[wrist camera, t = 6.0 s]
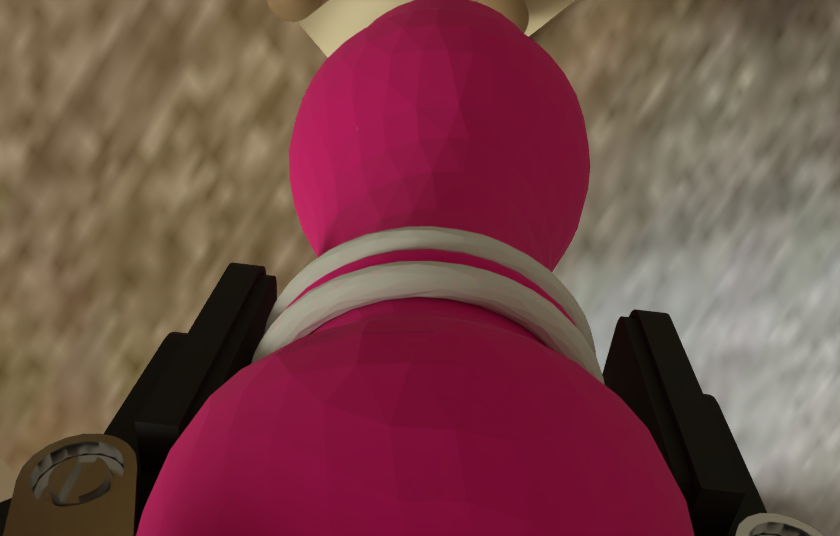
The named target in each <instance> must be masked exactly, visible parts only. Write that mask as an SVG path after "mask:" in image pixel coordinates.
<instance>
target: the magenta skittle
mask: <svg viewBox="0 0 840 536" xmlns="http://www.w3.org/2000/svg"><path fill="white" fill-rule="evenodd" d="M289 169H290V183H291V188H292V193H293V199H294V204H295V209H296V212H297V215H298V217H299V220H300V223H301V226H302V229H303V231H304V233H305V235H306V237H307V239H308V241H309V243H310V245H311V246H312V248H313V250H314V251H315V253H316V255H317V256H318V258H317V259H315V260H314V261H312V262H311V263H309V264H308V265H307V266H306V267H305V268H304V269H303V270H302V271H301V272H300V273H299V274H298V275H297V276H296V277H295V278H294V279H293V280H292V281H290V283H289V284H288V285H287V287H286V288H285V289H284V291H283V292H282V294H281V295H280V296H279V298H278V299H277V301H276V302H275V304H274V306H273V309H272V311H271V313H270V315H269V318H268V320H267V323H266V327H265V331H264V335H263V338H262V340H261V341H260V343H259V345H258V347H257V349H256V351H255V353H254V356H253V359H252V363H251V364H250V365H248V366H246V367H245V368H243V369H241V370H240V371H239V372H237V373H236V374H235V375H234V376H233V377H232V378H230V379H229V380H228V381H227V382H226V383H225V384H223V385H222V386H221V387H220V388H219V389H217V390H216V391H215V392H214V393H213V394H212V395H210V397H209V398H208V399H207V401H206V402H205V403H204V405H203V406H202V407H201V409H200V410H199V411H198V413H197V414H196V415H195V417H194V418H193V420H192V421H191V422H190V424H189V425H188V426H187V428H186V429H185V430H184V432H183V433H182V434H181V436H180V437H179V438H178V440H177V441H176V442H175V444H174V445H173V447H172V448H171V449H170V451H169V453H168V456H167V458H166V460H165V462H164V465H163V467H162V469H161V471H160V473H159V476H158V478H157V480H156V482H155V485H154V487H153V489H152V491H151V494H150V496H149V498H148V500H147V502H146V505H145V507H144V510H143V512H142V516H141V520H140V523H139V527H138V530H137V534H136V536H694V532H693V528H692V523H691V519H690V515H689V511H688V507H687V503H686V500H685V498H684V496H683V494H682V492H681V490H680V488H679V487H678V485H677V483H676V481H675V479H674V477H673V475H672V473H671V471H670V469H669V468H668V466H667V464H666V462H665V460H664V458H663V456H662V454H661V452H660V450H659V448H658V447H657V445H656V443H655V441H654V439H653V437H652V435H651V433H650V431H649V429H648V428H647V427H646V426H645V424H644V423H643V422H642V421H641V420H640V419H639V418H638V417H637V416H636V414H635V413H634V412H633V411H632V410H631V409H630V408H629V407H628V405H627V404H626V403H625V402H624V401H623V400H622V399H621V398H620V397H619V396H618V395H617V394H616V393H614V392H613V391H612V390H611V389H609V388H608V387H607V386H605V384H604V379H603V376H602V373H601V370H600V367H599V364H598V361H597V358H596V353H595V346H594V342H593V338H592V333H591V329H590V327H589V324H588V322H587V319H586V317H585V315H584V313H583V311H582V310H581V308H580V306H579V305H578V303H577V301H576V300H575V298H574V297H573V296H572V295H571V293H570V292H569V291H568V290H567V288H566V287H565V286H564V285H563V284H562V283H561V282H560V281H559V279H558V278H557V277H556V276H555V275H554V274H553V273H552V271H553V270H554V268H555V267H556V265H557V264H558V262H559V261H560V259H561V258H562V256H563V255H564V253H565V251H566V249H567V248H568V246H569V244H570V243H571V241H572V239H573V237H574V234H575V232H576V230H577V228H578V224H579V221H580V217H581V213H582V209H583V206H584V202H585V198H586V194H587V191H588V183H589V173H590V159H589V146H588V140H587V134H586V128H585V123H584V117H583V114H582V111H581V108H580V105H579V102H578V99H577V96H576V94H575V92H574V90H573V88H572V86H571V84H570V83H569V81H568V79H567V77H566V75H565V74H564V72H563V71H562V70H561V69H560V67H559V66H558V65H557V64H556V62H555V61H554V60H553V59H552V57H551V56H550V55H549V54H548V53H547V52H546V51H545V50H544V49H543V48H542V47H540V46H539V45H538V44H537V43H536V42H534V41H533V40H532V39H531V38H529V37H528V36H527V35H525V34H524V33H523V32H522V31H521V30H520V29H519V28H518V27H517V26H516V25H515V24H514V23H513V22H511V21H510V20H509V19H508V18H506V17H505V16H504V15H503V14H501V13H500V12H498V11H496V10H494V9H492V8H490V7H488V6H486V5H483V4H481V3H478V2H475V1H471V0H413V1H411V2H408V3H405V4H402V5H399V6H397V7H395V8H393V9H392V10H390V11H388V12H386V13H384V14H383V15H382V16H380V17H379V18H377V19H376V20H374V21H373V22H372V23H371V24H370V25H369V26H368V27H366V28H364V29H363V30H361V31H360V32H358V33H357V34H355V35H354V36H352V37H351V38H349V39H348V40H347V41H345V42H344V43H343V44H342V45H341V46H340V47H339V48H338V49H337V50H336V51H335V52H333V53H332V54H331V55H330V56H329V57H328V58H327V59H326V61H325V62H324V63H323V65H322V66H321V68H320V69H319V70H318V72H317V73H316V74H315V76H314V77H313V79H312V81H311V83H310V85H309V87H308V89H307V91H306V93H305V95H304V97H303V99H302V102H301V105H300V108H299V111H298V114H297V117H296V121H295V126H294V130H293V135H292V139H291V144H290V148H289Z"/></svg>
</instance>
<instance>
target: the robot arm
mask: <svg viewBox="0 0 840 536" xmlns="http://www.w3.org/2000/svg"><path fill="white" fill-rule="evenodd" d="M276 301H277V282H276V277H275V276H270V275H266V270H265V267H264V266H257V265H248V264H240V263H230V264H229V265H228V267H227V269H226V270H225V272H224V274H223V275H222V277H221V279H220V280H219V282H218V284H217V285H216V287H215V289H214V290H213V292H212V294H211V295H210V297H209V299H208V300H207V302H206V304H205V305H204V307H203V309H202V310H201V312H200V314H199V315H198V317H197V319H196V320H195V322H194V324H193V325H192V327H191V329H190V330H189V332H188V333H180V332H172V333H169V334H168V335H167V337H166V338H165V339H164V340H163V342H162V344H161V345H160V347H159V348H158V350H157V351H156V353H155V355H154V356H153V358H152V359H151V361H150V362H149V364H148V365H147V367H146V369H145V370H144V372H143V373H142V375H141V376H140V378H139V379H138V381H137V383H136V384H135V386H134V387H133V389H132V390H131V392H130V394H129V395H128V397H127V398H126V400H125V401H124V403H123V404H122V406H121V408H120V409H119V411H118V412H117V414H116V415H115V417H114V418H113V420H112V422H111V423H110V425H109V426H108V428H107V429H106V431H105V432H104V434H80V435H76V436H71V437H66V438H64V439H61V440H59V441H56V442H54V443H52V444H49V445H47V446H46V447H44V448H43V449H41V450H40V451H38V452H37V453H35V454H34V455H33V456H32V457H31V458H30V459H29V460H28V461H27V462H26V463H25V465H24V466H23V467H22V469H21V471H20V473H19V475H18V477H17V479H16V483H15V487H14V491H13V495H12V498H10V499H8V500H6V501H3V502H1V503H0V536H136V534H137V530H138V527H139V523H140V520H141V516H142V512H143V510H144V507H145V505H146V502H147V500H148V498H149V496H150V494H151V491H152V489H153V487H154V485H155V482H156V480H157V478H158V476H159V473H160V471H161V469H162V467H163V465H164V462H165V460H166V458H167V456H168V453H169V451H170V449H171V448H172V447H173V445H174V444H175V442H176V441H177V440H178V438H179V437H180V436H181V434H182V433H183V432H184V430H185V429H186V428H187V426H188V425H189V424H190V422H191V421H192V420H193V418H194V417H195V415H196V414H197V413H198V411H199V410H200V409H201V407H202V406H203V405H204V403H205V402H206V401H207V399H208V398H209V397H210V395H212V394H213V393H214V392H215V391H216V390H217V389H219V388H220V387H221V386H222V385H223V384H225V383H226V382H227V381H228V380H229V379H230V378H232V377H233V376H234V375H235V374H236V373H237V372H239V371H240V370H241V369H243V368H245V367H246V366H248V365H250V364H251V363H252V359H253V356H254V353H255V351H256V349H257V347H258V345H259V343H260V341H261V340H262V338H263V335H264V331H265V327H266V323H267V320H268V318H269V315H270V313H271V311H272V309H273V306H274V304H275V302H276ZM602 376H603V379H604V384H605V386H607V387H608V388H609V389H611V390H612V391H613V392H614V393H616V394H617V395H618V396H619V397H620V398H621V399H622V400H623V401H624V402H625V403H626V404H627V405H628V407H629V408H630V409H631V410H632V411H633V412H634V413H635V414H636V416H637V417H638V418H639V419H640V420H641V421H642V422H643V423H644V424H645V426H646V427H647V428H648V429H649V431H650V433H651V435H652V437H653V439H654V441H655V443H656V445H657V447H658V448H659V450H660V452H661V454H662V456H663V458H664V460H665V462H666V464H667V466H668V468H669V469H670V471H671V473H672V475H673V477H674V479H675V481H676V483H677V485H678V487H679V488H680V490H681V492H682V494H683V496H684V498H685V500H686V503H687V507H688V511H689V515H690V519H691V523H692V528H693V532H694V536H824V535H823V534H821V533H820V532H818V531H817V530H815V529H814V528H812V527H811V526H809V525H807V524H805V523H803V522H801V521H798V520H796V519H794V518H791V517H787V516H783V515H779V514H776V513H767V511H766V509H765V507H764V505H763V502H762V500H761V498H760V496H759V493H758V491H757V489H756V487H755V485H754V482H753V480H752V478H751V476H750V473H749V471H748V469H747V467H746V464H745V462H744V460H743V458H742V455H741V453H740V451H739V449H738V447H737V444H736V442H735V440H734V438H733V435H732V433H731V431H730V429H729V426H728V424H727V422H726V420H725V418H724V415H723V413H722V411H721V409H720V406H719V404H718V402H717V401H716V399H715V398H714V397H713V396H711V395H708V394H703V392H702V390H701V388H700V385H699V383H698V381H697V378H696V376H695V374H694V371H693V369H692V367H691V364H690V362H689V360H688V357H687V355H686V353H685V350H684V348H683V346H682V343H681V341H680V339H679V336H678V334H677V332H676V329H675V327H674V324H673V322H672V320H671V317H670V316H669V314H667V313H660V312H652V311H643V310H635V309H634V310H633V311H632V312H631V314H630V316H629V317H622V316H621V317H620V318H619V320H618V322H617V325H616V328H615V332H614V335H613V339H612V342H611V346H610V349H609V353H608V356H607V360H606V364H605V367H604V371H603V374H602Z"/></svg>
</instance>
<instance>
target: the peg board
mask: <svg viewBox="0 0 840 536" xmlns="http://www.w3.org/2000/svg"><path fill="white" fill-rule="evenodd" d="M411 1H413V0H267V2H268V4H269V6H270V8H271V9H272V11H273V12H274V13H275V14H276V15H277V16H278V17H280V18H282V19H284V20H287V21H293V22H295V21H297V22H298V23H299V24H300V25H301V26H302V27H303V29H304V30H305V31H306V32H307V33H308V35H309V36H310V37H311V38H312V39H313V41H314V42H315V43H316V44H317V45H318V47H319V48H320V49H321V50H322V51H323V52H324V54H325V55H326V56H327V57H329V56H330V55H331V54H332V53H333V52H335V51H336V50H337V49H338V48H339V47H340V46H341V45H342V44H343V43H344V42H345V41H347V40H348V39H349V38H351V37H352V36H354V35H355V34H357V33H358V32H360V31H361V30H363V29H364V28H366V27H368V26H369V25H370V24H371V23H372V22H373V21H374V20H376V19H377V18H379V17H380V16H382V15H383V14H384V13H386V12H388V11H390V10H392V9H393V8H395V7H397V6H399V5H402V4H405V3H408V2H411ZM471 1H475V2H478V3H481V4H483V5H486V6H488V7H490V8H492V9H494V10H496V11H498V12H500V13H501V14H503V15H504V16H505V17H506V18H508V19H509V20H510V21H511V22H513V23H514V24H515V25H516V26H517V27H518V28H519V29H520V30H521V31H522V32H523V33H524V34H525V35H527V36H528V37H529V36H530V35H531V34H533V33H534V32H535V31H537V30H538V29H539V28H540V27H542V26H543V25H544V24H546V23H547V22H548V21H549V20H551V19H552V18H553V17H555V16H556V15H557V14H558V13H560V12H561V11H562V10H564V9H565V8H566V7H567V6H569V5H570V4H571V3H573V2H574V1H575V0H471Z"/></svg>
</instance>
